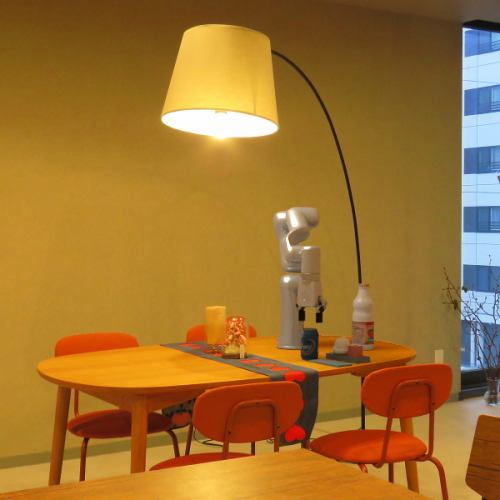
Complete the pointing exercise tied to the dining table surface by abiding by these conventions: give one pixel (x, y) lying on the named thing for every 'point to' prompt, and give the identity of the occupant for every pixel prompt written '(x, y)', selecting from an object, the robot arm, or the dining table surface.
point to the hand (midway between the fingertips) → (310, 321)
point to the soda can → (309, 344)
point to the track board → (330, 362)
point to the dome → (341, 346)
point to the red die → (355, 350)
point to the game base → (348, 358)
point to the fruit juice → (363, 319)
